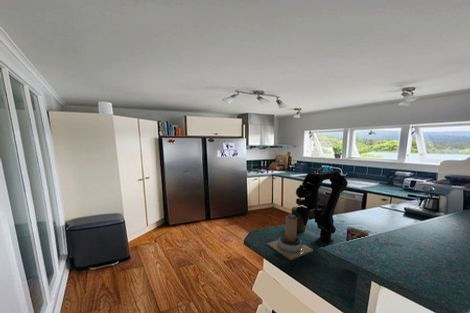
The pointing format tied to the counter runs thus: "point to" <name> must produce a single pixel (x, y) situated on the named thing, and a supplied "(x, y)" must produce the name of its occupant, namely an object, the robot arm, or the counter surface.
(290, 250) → the motor mount
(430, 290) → the counter surface
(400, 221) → the counter surface
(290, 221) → the beige cylinder
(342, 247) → the counter surface
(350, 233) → the candy box
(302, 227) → the pillar candle
